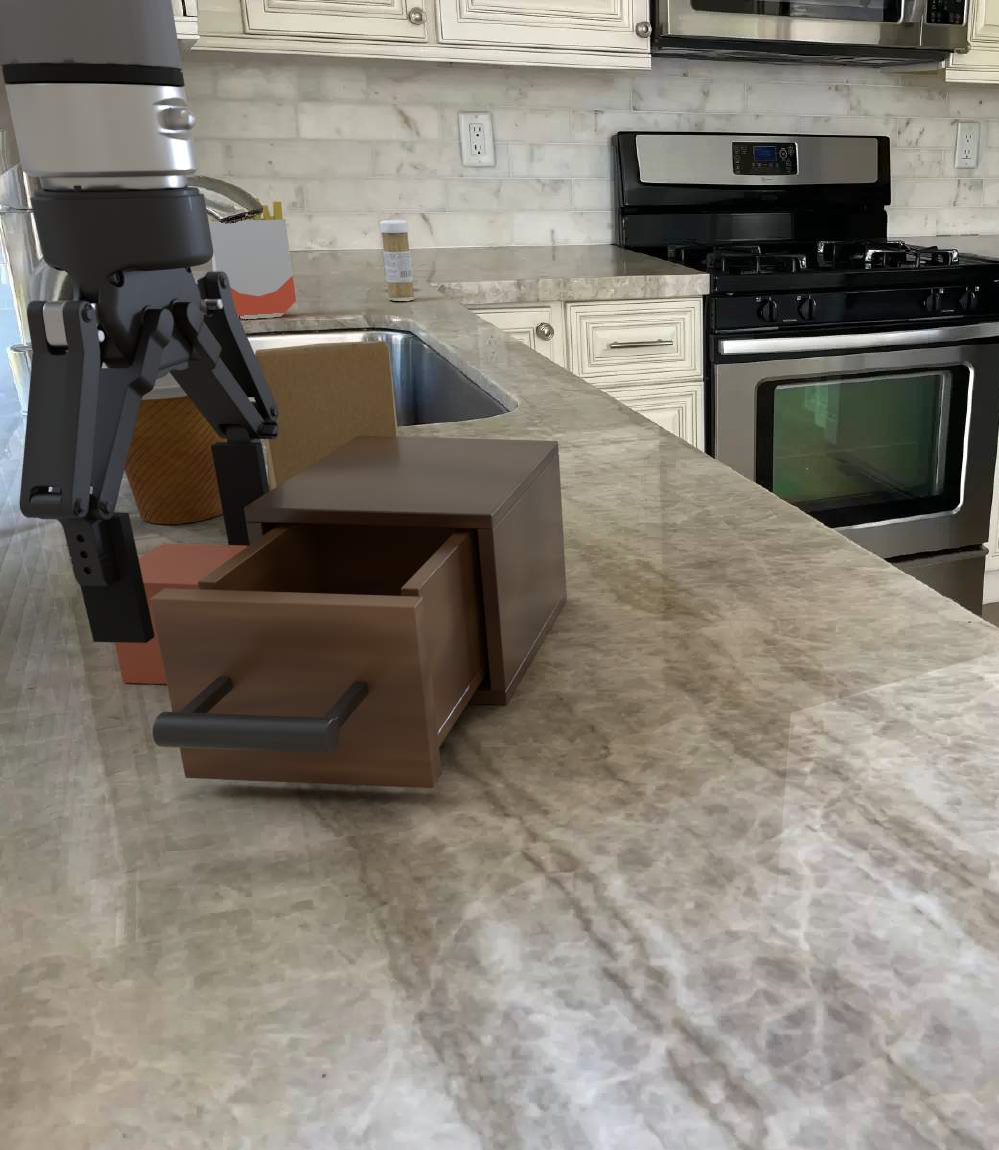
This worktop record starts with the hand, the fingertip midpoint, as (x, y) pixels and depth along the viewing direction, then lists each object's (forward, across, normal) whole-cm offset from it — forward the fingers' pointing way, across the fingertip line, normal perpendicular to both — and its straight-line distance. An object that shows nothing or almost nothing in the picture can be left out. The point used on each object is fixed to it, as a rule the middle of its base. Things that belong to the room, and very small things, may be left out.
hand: (195, 590), depth 63 cm
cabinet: (+5, +4, -12) cm, 13 cm away
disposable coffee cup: (+4, +26, +16) cm, 31 cm away
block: (+4, 0, 0) cm, 4 cm away
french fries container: (+3, +122, +56) cm, 135 cm away
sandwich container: (+4, +24, +3) cm, 25 cm away
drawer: (+4, -9, -12) cm, 15 cm away
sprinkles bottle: (+3, +144, +41) cm, 149 cm away
